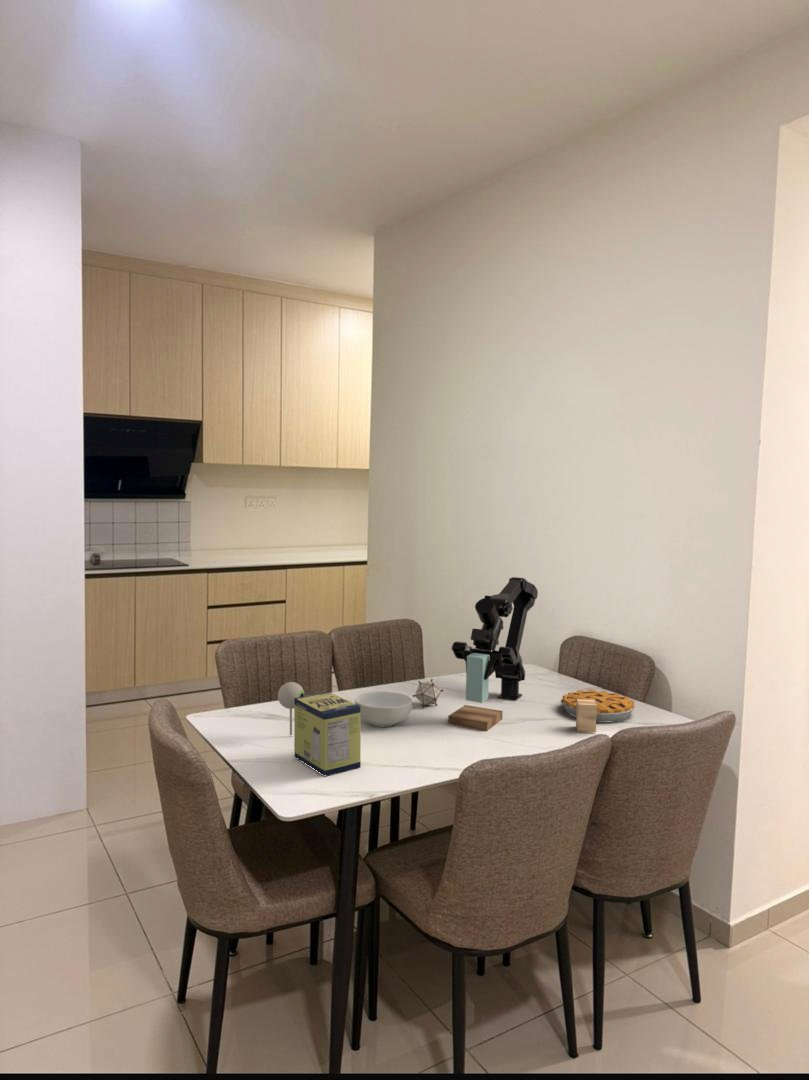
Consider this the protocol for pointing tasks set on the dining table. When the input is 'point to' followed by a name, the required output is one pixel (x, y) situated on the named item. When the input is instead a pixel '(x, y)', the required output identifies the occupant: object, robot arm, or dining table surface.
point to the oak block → (586, 715)
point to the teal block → (477, 677)
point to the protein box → (327, 732)
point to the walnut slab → (475, 717)
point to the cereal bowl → (384, 707)
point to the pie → (601, 704)
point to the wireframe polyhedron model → (427, 693)
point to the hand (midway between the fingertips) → (475, 677)
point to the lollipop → (289, 697)
